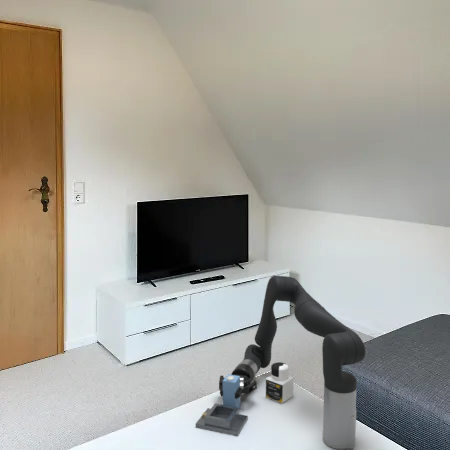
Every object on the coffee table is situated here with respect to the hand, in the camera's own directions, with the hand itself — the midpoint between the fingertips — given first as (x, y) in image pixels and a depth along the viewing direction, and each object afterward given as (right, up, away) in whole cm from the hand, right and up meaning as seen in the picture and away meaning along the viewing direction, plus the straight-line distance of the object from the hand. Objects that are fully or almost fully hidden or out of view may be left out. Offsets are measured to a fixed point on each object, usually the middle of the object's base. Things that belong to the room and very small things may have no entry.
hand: (228, 394), depth 157 cm
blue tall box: (+1, -6, +3) cm, 7 cm away
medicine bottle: (+18, -5, +12) cm, 22 cm away
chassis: (-2, -7, -5) cm, 9 cm away
